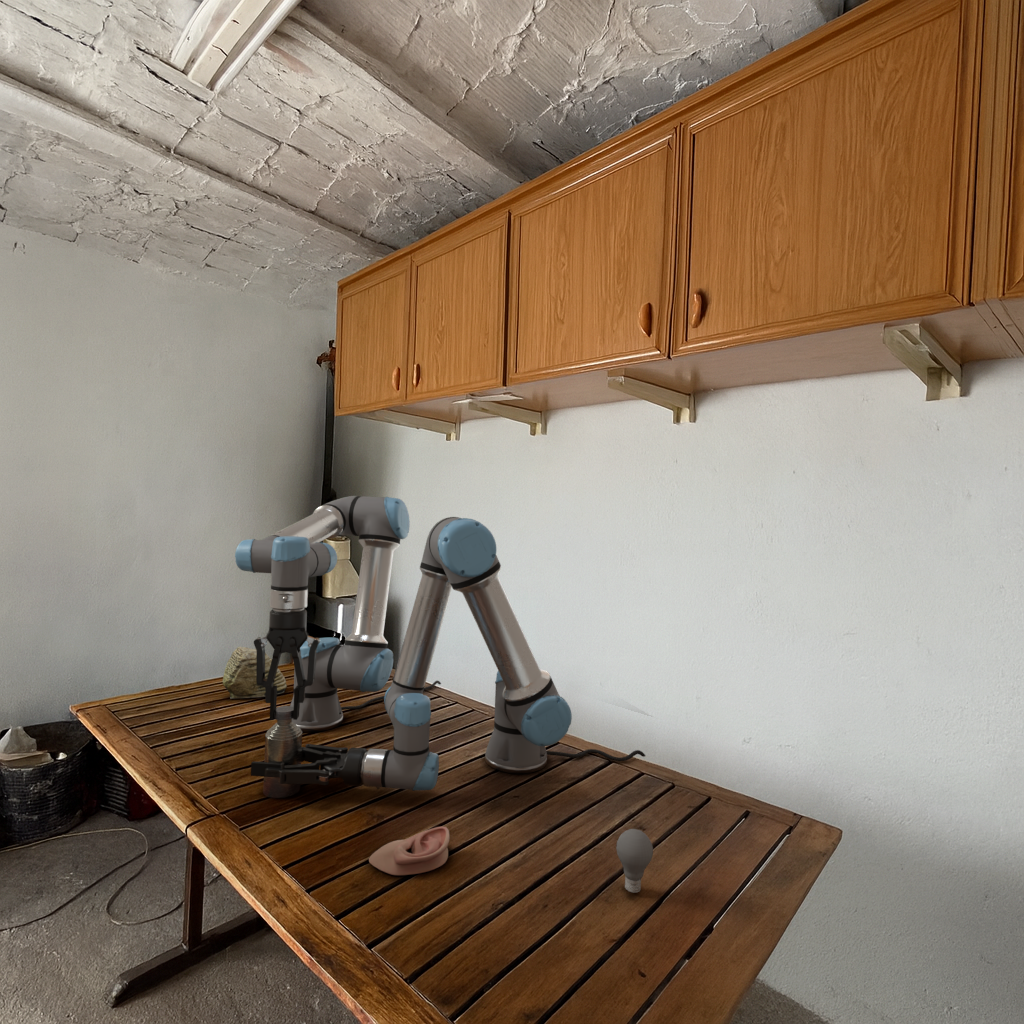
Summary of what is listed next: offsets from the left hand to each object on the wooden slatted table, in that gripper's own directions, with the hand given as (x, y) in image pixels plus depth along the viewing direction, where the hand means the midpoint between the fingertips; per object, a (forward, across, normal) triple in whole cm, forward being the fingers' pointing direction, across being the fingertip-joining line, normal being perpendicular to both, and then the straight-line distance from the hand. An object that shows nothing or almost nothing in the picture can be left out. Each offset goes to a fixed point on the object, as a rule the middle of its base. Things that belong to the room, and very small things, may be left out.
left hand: (284, 717), depth 136 cm
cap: (-1, 0, 0) cm, 1 cm away
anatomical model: (+16, +27, -28) cm, 42 cm away
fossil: (+16, -21, +66) cm, 71 cm away
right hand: (+10, -5, +1) cm, 11 cm away
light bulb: (+16, +64, -41) cm, 78 cm away
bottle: (+16, 0, 0) cm, 16 cm away
